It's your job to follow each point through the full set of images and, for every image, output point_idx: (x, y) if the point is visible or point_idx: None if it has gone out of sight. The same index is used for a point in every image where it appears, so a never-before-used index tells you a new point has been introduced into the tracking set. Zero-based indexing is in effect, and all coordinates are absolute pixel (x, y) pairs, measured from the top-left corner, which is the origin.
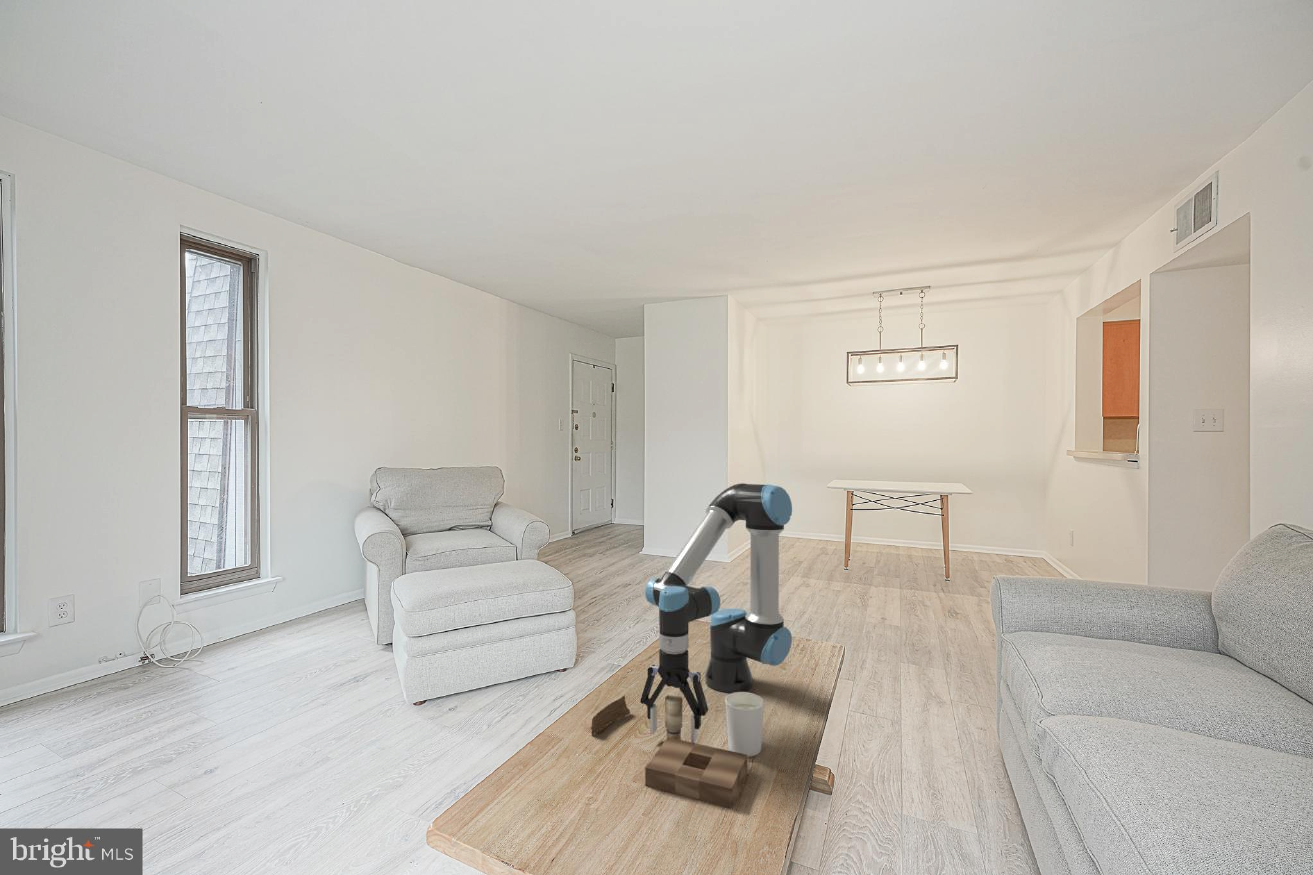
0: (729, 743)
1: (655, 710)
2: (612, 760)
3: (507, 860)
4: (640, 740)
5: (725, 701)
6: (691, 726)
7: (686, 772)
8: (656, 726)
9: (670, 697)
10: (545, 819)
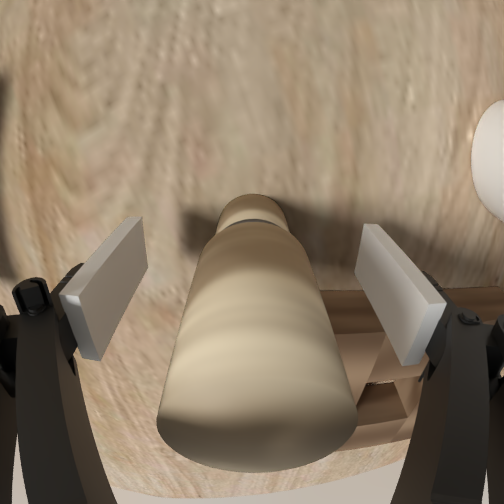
0: (489, 200)
1: (100, 306)
2: (106, 364)
3: (157, 495)
4: (102, 241)
5: None
6: (383, 323)
7: (359, 439)
8: (136, 232)
9: (214, 434)
10: (140, 472)
